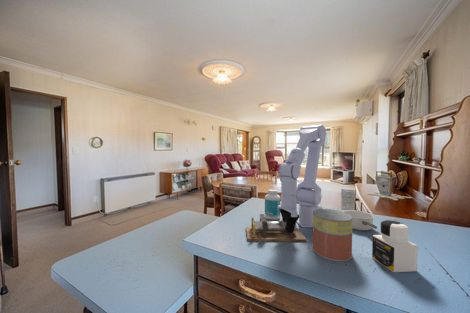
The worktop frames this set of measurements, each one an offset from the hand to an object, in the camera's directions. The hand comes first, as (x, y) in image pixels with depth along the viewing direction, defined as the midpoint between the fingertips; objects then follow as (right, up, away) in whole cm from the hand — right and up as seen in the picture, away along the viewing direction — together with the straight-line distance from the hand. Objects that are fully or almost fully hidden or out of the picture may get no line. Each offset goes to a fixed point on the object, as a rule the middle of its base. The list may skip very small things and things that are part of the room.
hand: (288, 229), depth 73 cm
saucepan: (+31, -3, +5) cm, 32 cm away
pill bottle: (-2, -2, +19) cm, 19 cm away
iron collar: (-10, -2, 0) cm, 10 cm away
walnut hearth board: (-5, -2, 0) cm, 6 cm away
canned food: (+10, -3, -12) cm, 16 cm away
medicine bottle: (+24, -3, -19) cm, 31 cm away
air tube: (-5, -2, 0) cm, 6 cm away
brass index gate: (-13, -2, 0) cm, 14 cm away
